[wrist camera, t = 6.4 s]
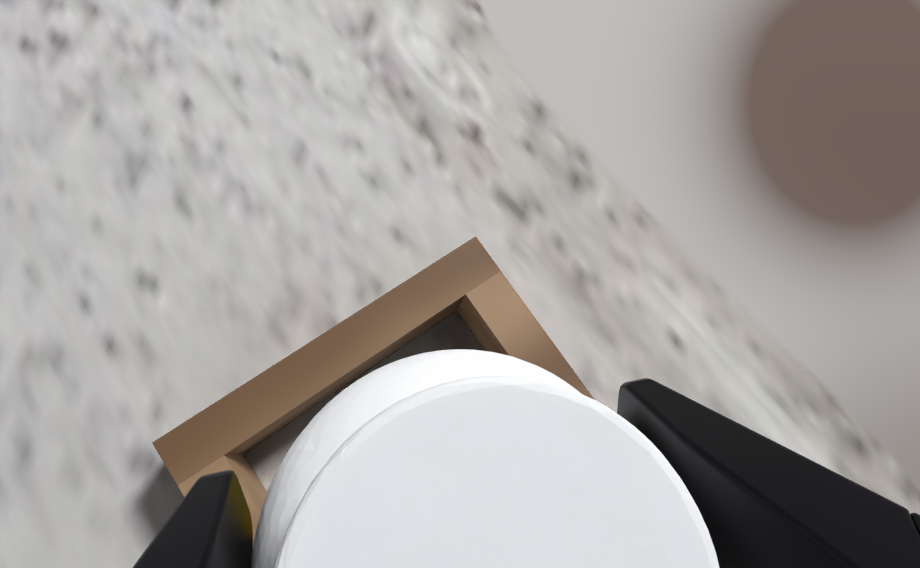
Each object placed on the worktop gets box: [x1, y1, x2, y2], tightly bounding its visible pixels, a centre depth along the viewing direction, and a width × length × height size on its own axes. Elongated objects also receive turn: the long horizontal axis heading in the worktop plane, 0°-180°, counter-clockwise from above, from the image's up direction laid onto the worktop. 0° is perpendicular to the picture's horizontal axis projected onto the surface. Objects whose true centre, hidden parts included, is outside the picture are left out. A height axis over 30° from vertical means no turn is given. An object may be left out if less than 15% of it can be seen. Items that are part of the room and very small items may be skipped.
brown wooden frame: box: [153, 237, 594, 546], centre depth 19 cm, size 12×12×2 cm
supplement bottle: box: [251, 349, 719, 568], centre depth 10 cm, size 5×5×10 cm
